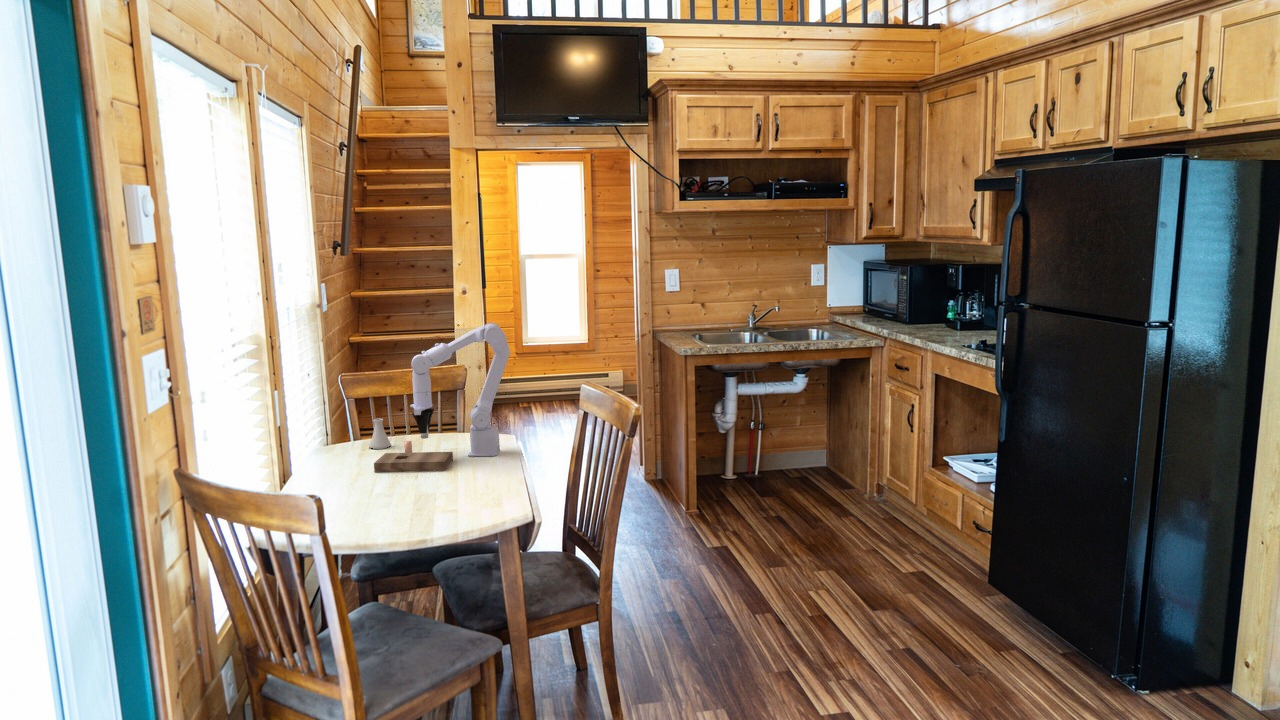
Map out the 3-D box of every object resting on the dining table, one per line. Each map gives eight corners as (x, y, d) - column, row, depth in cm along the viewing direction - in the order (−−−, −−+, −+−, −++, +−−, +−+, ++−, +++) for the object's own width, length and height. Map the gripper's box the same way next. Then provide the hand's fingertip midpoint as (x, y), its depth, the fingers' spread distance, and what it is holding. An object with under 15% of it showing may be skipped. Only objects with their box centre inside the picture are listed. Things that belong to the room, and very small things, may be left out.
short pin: (413, 453, 283) (412, 440, 283) (411, 455, 281) (410, 442, 280) (406, 453, 283) (405, 440, 283) (404, 455, 281) (403, 442, 280)
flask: (365, 449, 291) (363, 421, 289) (377, 444, 297) (375, 416, 296) (383, 450, 289) (381, 422, 287) (395, 445, 295) (393, 417, 294)
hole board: (453, 460, 273) (452, 451, 273) (444, 470, 261) (444, 461, 261) (385, 462, 273) (385, 453, 273) (374, 472, 261) (373, 463, 261)
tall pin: (429, 436, 277) (428, 413, 275) (427, 438, 274) (426, 414, 273) (422, 436, 277) (420, 413, 275) (420, 438, 274) (418, 414, 273)
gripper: (415, 387, 280) (418, 427, 282) (403, 395, 266) (406, 437, 268) (436, 387, 280) (439, 426, 282) (425, 395, 266) (427, 437, 268)
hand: (424, 432), depth 275 cm, fingers closed on tall pin, 2 cm apart
